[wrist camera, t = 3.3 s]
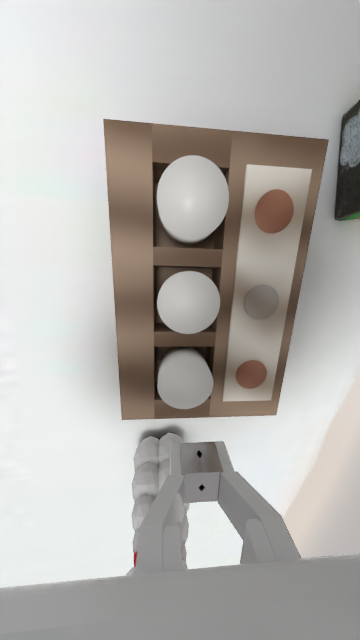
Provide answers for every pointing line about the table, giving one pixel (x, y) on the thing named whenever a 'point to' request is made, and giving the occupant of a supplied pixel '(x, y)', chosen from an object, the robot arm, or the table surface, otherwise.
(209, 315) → the middle button
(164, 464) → the rocket model
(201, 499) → the robot arm
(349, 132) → the chalk box
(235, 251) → the board
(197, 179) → the button
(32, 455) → the table surface
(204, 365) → the button
